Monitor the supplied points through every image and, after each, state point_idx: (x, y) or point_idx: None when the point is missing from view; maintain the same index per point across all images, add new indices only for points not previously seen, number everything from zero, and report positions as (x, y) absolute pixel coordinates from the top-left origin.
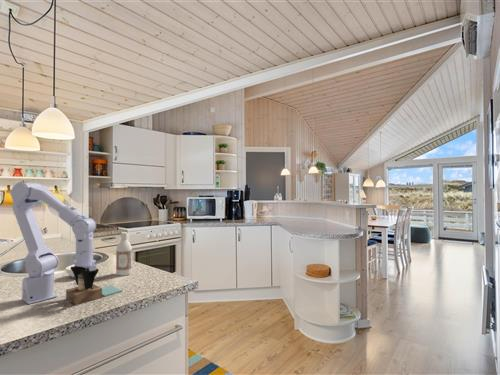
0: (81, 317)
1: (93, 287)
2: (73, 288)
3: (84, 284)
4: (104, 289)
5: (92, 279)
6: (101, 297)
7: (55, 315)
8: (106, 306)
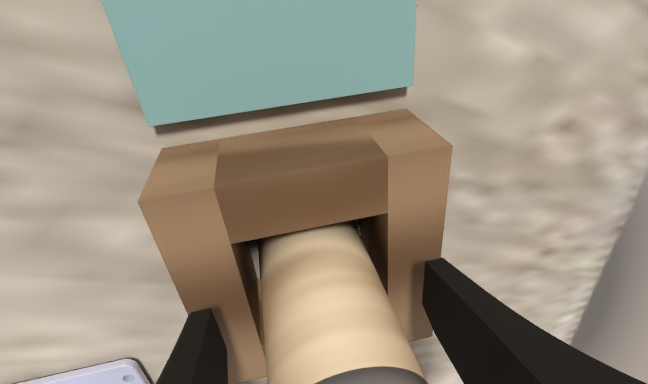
0: (588, 271)
1: (342, 211)
2: (227, 349)
3: (453, 356)
4: (201, 13)
5: (514, 338)
6: (406, 113)
7: None
8: (602, 136)
